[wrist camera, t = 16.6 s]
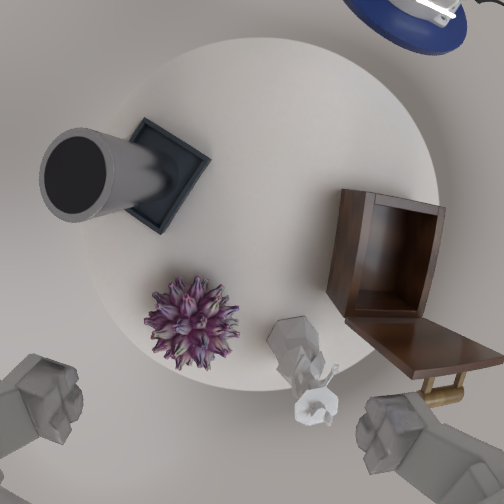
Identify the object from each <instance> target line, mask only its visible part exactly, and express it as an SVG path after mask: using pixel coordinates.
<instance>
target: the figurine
mask: <svg viewBox="0 0 504 504" xmlns="http://www.w3.org/2000/svg"><path fill="white" fill-rule="evenodd" d="M267 343H268V345H269V346H270V348H271V349H272V351H273V352H274V354H275V355H276V357H277V360H278V363H279V365H278V367H277V369H276V370H277V371H278V372H279V373H280V374H281V375H282V376H283V377H284V378H285V380H286V381H287V382H288V383H289V384H290V385H291V386H292V391H293V392H292V393H293V396H295V397H297V398H299V397H301V398H300V399H299V400H298V401H297V403H296V404H295V420H296V421H298V422H301V423H303V424H305V425H307V426H309V425H313V424H317V423H321V422H325V423H326V424H327V425H328V427H330V425H331V423H332V421H333V418H332V416H333V415H335V414H336V413H337V412H338V397H337V396H336V395H335V394H334V393H332V392H331V391H330V390H329V389H327V387H326V386H327V385H328V383H329V382H330V380H331V378H332V377H333V374H335V373H337V372H338V366H339V365H338V364H334V365H333V367H332V369H331V372H330V373H329V375H328V377H327V378H326V380H325V382H324V383H322V382H321V381H319V380H318V379H319V377H320V375H321V373H322V371H323V368H324V365H325V360H324V357H323V354H322V352H320V351H319V338H318V333H317V332H316V330H315V329H314V328H313V326H312V325H311V324H310V323H309V321H308V320H307V319H306V317H305V316H303V317H297V318H291V319H286V320H279V321H277V323H276V325H275V327H274V328H273V330H272V332H271V334H270V336H269V337H268V339H267Z"/></svg>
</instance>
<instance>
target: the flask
mask: <svg viewBox="0 0 504 504" xmlns="http://www.w3.org/2000/svg"><path fill="white" fill-rule="evenodd" d="M39 174H40V175H39V185H40V191H41V195H42V198H43V200H44V202H45V204H46V206H47V207H48V209H49V210H50V211H51V212H52V213H53V214H54V215H55V216H56V217H58V218H59V219H61V220H64V221H66V222H72V223H76V222H82V221H86V220H89V219H92V218H96V217H99V216H103V215H106V214H109V213H113V212H116V211H120V210H124V209H127V208H131V207H135V206H138V205H142V204H146V203H150V202H154V201H157V200H161V199H164V198H166V197H167V196H169V195H170V194H171V193H172V192H173V191H174V189H175V188H176V186H177V183H178V180H179V170H178V166H177V164H176V162H175V160H174V159H173V158H172V157H171V156H170V155H168V154H167V153H165V152H162V151H159V150H156V149H153V148H150V147H146V146H143V145H140V144H137V143H134V142H131V141H128V140H124V139H121V138H118V137H115V136H111V135H108V134H105V133H101V132H98V131H94V130H91V129H87V128H75V129H70V130H68V131H66V132H64V133H62V134H61V135H59V136H58V137H57V138H56V139H55V140H54V141H53V142H52V143H51V144H50V146H49V147H48V149H47V150H46V152H45V154H44V157H43V159H42V163H41V166H40V173H39Z"/></svg>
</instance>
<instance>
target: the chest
mask: <svg viewBox="0 0 504 504" xmlns="http://www.w3.org/2000/svg"><path fill="white" fill-rule="evenodd" d="M445 211H446V208H445V207H441V206H436V205H432V204H427V203H423V202H418V201H413V200H408V199H403V198H398V197H393V196H388V195H383V194H377V193H372V192H366V191H357V190H349V189H342V194H341V202H340V210H339V217H338V224H337V231H336V238H335V244H334V251H333V257H332V263H331V269H330V275H329V280H328V286H327V291H326V293H327V295H328V296H329V298H330V299H331V300H332V302H333V303H334V305H335V306H336V308H337V309H338V310H339V312H340V313H341V315H342V316H343V318H345V317H376V318H422V316H423V313H424V310H425V306H426V302H427V299H428V295H429V291H430V288H431V283H432V279H433V275H434V271H435V267H436V262H437V257H438V252H439V247H440V242H441V237H442V231H443V225H444V218H445Z"/></svg>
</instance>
